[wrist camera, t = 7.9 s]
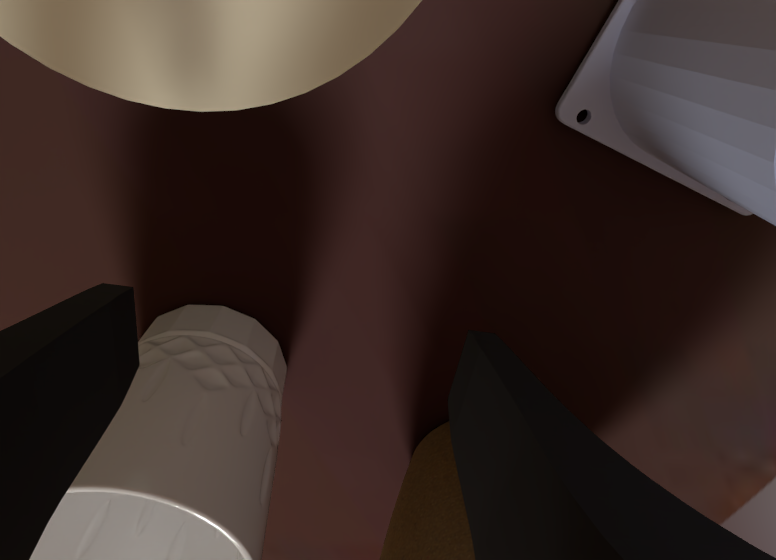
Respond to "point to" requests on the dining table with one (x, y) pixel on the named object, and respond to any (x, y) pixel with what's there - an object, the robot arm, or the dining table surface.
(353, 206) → the dining table surface
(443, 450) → the plant pot
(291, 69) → the lid
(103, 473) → the white cup
